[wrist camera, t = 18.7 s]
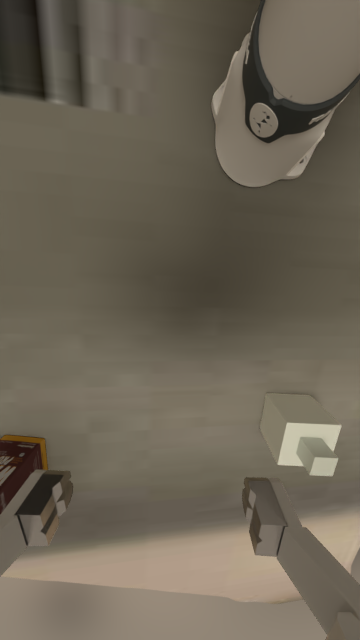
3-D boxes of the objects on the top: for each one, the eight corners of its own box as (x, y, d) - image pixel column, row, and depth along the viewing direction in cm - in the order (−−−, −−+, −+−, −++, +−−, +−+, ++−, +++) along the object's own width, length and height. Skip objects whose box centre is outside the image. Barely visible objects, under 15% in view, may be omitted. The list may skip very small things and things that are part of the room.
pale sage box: (266, 392, 43) (300, 441, 30) (309, 394, 43) (362, 444, 30) (259, 428, 45) (288, 487, 33) (301, 430, 45) (345, 490, 33)
